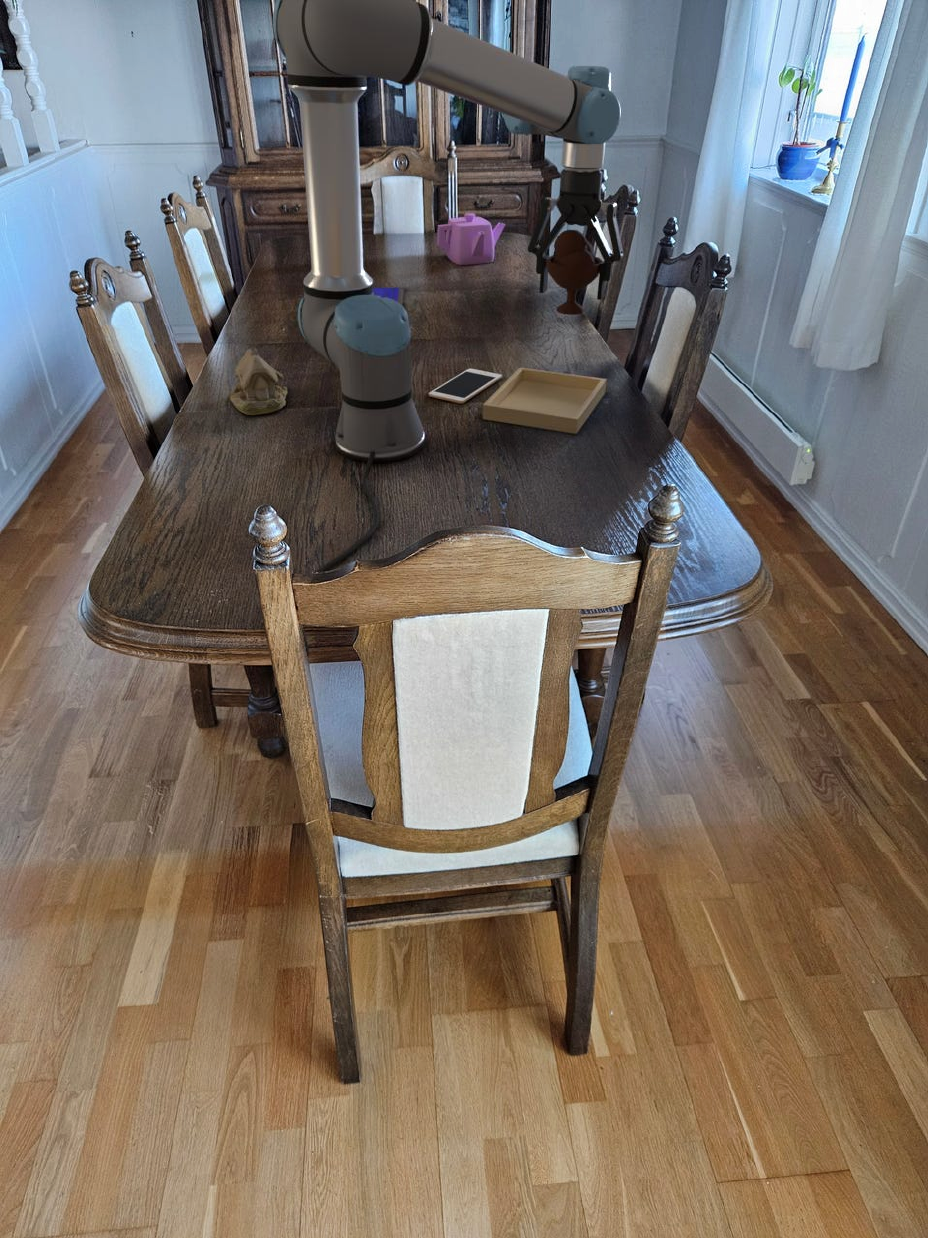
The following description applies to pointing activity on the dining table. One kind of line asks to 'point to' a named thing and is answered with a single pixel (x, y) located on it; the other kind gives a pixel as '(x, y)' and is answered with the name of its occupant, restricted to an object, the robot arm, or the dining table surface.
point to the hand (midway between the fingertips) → (571, 294)
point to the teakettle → (469, 239)
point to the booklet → (390, 293)
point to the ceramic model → (257, 386)
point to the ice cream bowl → (572, 267)
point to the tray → (545, 400)
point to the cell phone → (465, 385)
